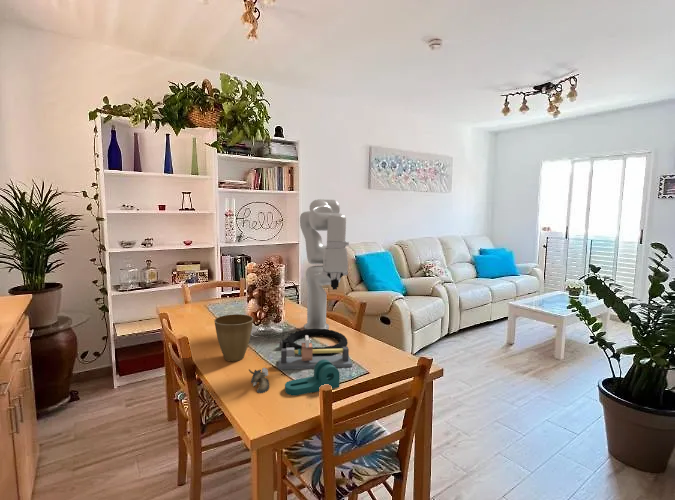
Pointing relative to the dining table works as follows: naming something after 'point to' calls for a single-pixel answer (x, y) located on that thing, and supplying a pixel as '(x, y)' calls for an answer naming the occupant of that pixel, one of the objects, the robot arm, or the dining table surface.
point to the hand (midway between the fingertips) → (334, 288)
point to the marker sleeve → (307, 350)
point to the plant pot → (233, 335)
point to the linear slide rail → (313, 358)
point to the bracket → (315, 379)
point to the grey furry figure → (260, 380)
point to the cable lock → (314, 332)
